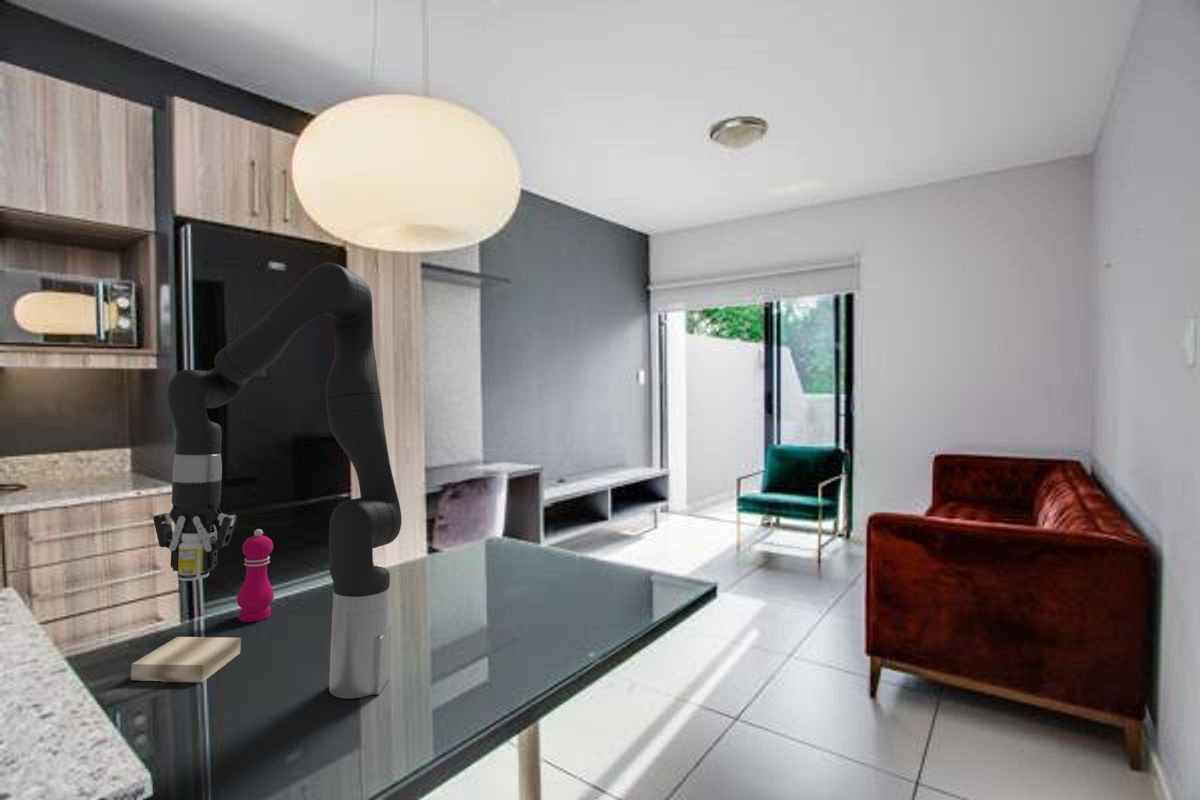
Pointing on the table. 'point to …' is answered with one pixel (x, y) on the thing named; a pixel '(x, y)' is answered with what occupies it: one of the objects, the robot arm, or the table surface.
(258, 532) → the pepper mill
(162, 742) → the table surface
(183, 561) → the supplement bottle
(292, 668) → the table surface
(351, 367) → the robot arm
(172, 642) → the birch block
